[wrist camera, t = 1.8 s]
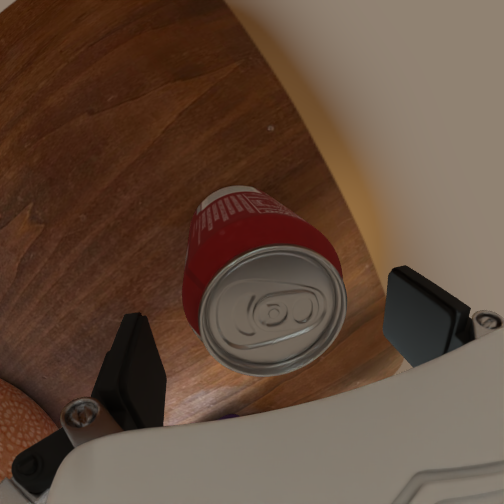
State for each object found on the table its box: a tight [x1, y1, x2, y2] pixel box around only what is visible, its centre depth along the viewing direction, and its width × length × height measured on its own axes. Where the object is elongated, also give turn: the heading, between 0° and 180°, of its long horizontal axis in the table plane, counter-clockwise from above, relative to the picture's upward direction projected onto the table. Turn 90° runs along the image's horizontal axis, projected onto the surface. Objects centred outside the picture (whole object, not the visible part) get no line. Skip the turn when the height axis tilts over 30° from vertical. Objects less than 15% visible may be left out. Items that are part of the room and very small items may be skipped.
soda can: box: [182, 185, 347, 377], centre depth 16 cm, size 7×7×12 cm
